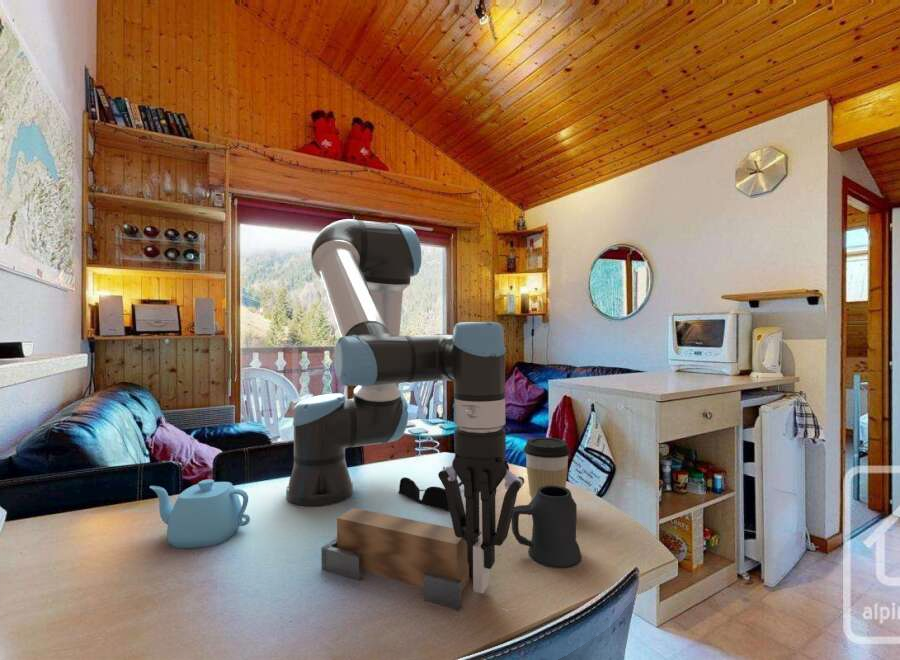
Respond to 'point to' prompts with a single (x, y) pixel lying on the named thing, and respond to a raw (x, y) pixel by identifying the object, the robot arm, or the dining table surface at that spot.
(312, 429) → the robot arm
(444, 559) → the walnut slat
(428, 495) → the sunglasses
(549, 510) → the mug
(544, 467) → the coffee cup
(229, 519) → the teapot
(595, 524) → the dining table surface
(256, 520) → the dining table surface
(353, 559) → the slat support bracket
